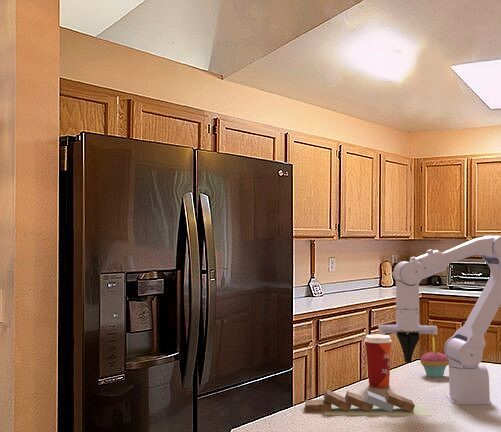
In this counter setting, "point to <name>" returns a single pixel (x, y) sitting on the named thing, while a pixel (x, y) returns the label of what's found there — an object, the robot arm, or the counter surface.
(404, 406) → the tile
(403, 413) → the mat
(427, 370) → the cupcake
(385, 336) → the paper cup
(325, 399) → the tile
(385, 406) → the tile
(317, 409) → the tile
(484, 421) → the counter surface
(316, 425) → the counter surface
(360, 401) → the tile
